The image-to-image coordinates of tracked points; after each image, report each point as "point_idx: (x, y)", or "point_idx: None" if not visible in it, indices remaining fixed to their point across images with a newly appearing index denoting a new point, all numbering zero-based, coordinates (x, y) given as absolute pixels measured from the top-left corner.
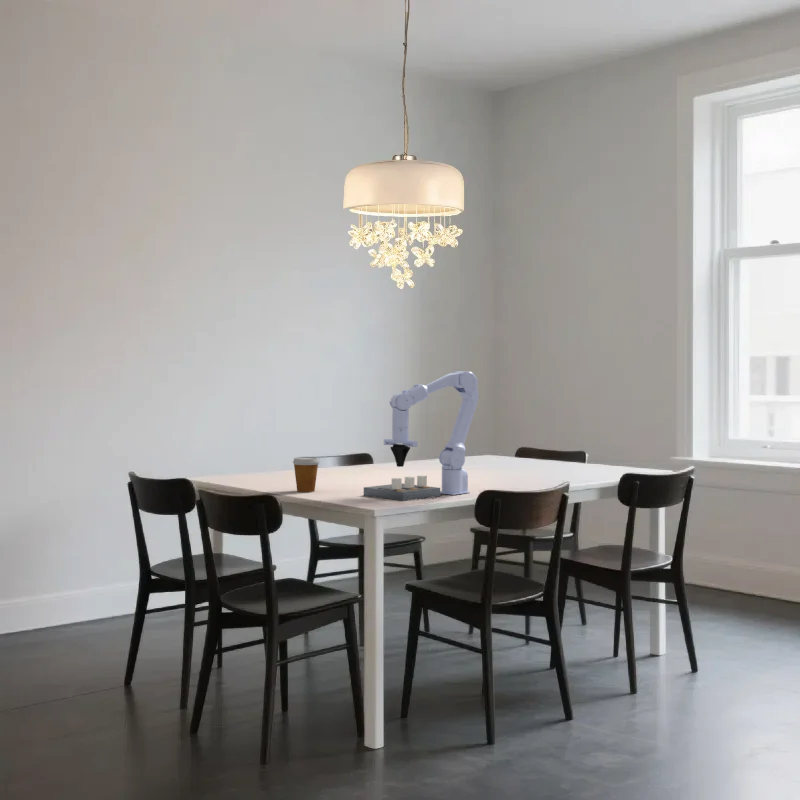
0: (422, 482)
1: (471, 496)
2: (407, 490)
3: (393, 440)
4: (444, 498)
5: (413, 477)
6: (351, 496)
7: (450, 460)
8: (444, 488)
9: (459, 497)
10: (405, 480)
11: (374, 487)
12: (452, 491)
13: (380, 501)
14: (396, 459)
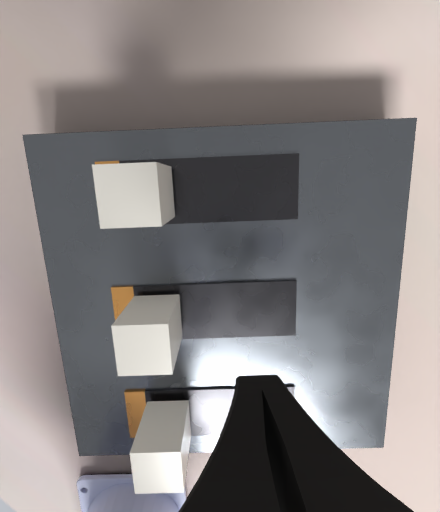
0: (141, 420)
1: (9, 505)
2: (86, 230)
3: None
4: (17, 378)
5: (118, 365)
6: (419, 38)
7: None
8: (128, 503)
9: (9, 449)
10: (164, 312)
11: (354, 175)
12: (94, 503)
13: (115, 7)
14: (287, 421)
